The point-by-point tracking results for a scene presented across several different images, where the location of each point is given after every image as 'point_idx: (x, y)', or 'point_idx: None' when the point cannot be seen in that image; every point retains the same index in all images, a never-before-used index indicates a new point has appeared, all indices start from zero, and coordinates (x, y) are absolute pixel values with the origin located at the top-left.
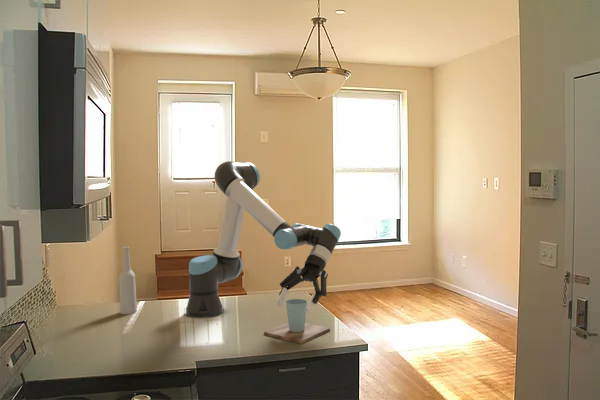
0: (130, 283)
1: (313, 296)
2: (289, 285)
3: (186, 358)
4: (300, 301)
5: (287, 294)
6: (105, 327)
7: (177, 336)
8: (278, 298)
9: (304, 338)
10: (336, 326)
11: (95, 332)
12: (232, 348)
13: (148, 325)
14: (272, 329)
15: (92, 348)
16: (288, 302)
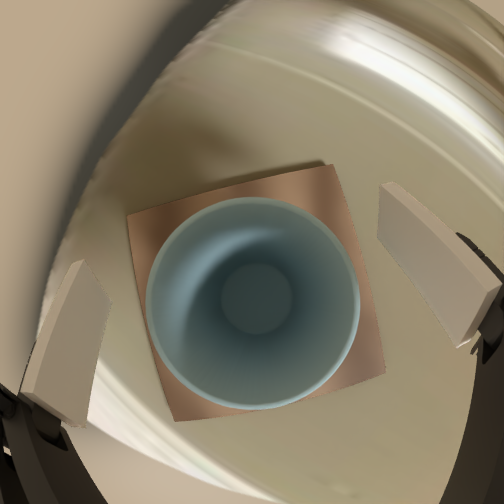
0: None
1: (32, 359)
2: (497, 364)
3: None
4: (294, 383)
5: (440, 322)
6: (494, 37)
7: (425, 37)
8: (413, 200)
9: (137, 244)
10: (210, 467)
11: (474, 18)
12: (265, 45)
13: (499, 64)
14: (338, 209)
15: None
16: (339, 271)
